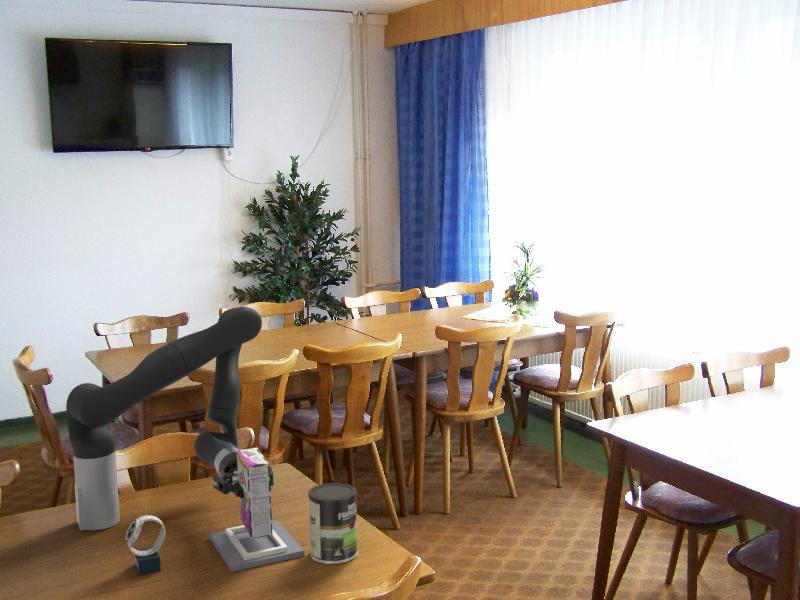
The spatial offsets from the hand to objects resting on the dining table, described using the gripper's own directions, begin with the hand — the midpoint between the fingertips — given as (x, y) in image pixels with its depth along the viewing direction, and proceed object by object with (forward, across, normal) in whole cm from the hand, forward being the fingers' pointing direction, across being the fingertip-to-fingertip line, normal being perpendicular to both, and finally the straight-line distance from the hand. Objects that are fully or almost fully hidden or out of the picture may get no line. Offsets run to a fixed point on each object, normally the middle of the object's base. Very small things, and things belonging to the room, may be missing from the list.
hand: (255, 491), depth 182 cm
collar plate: (0, 0, +13) cm, 13 cm away
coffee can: (+11, +14, +13) cm, 22 cm away
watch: (-1, -23, +13) cm, 27 cm away
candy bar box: (-1, 0, +9) cm, 9 cm away
